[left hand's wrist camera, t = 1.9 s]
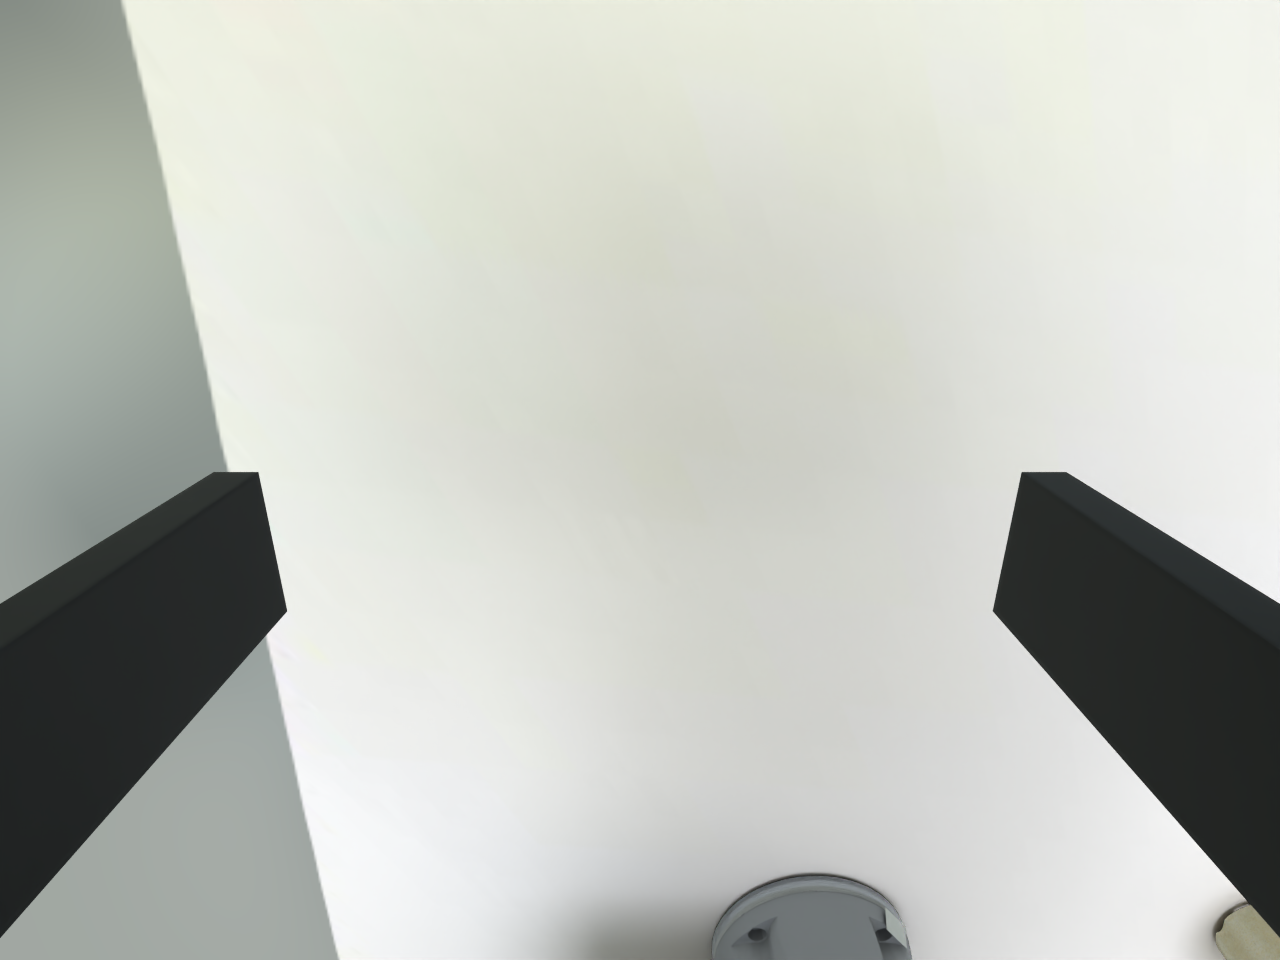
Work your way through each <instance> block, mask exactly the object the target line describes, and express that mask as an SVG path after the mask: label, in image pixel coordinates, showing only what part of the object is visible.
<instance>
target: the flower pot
mask: <svg viewBox="0 0 1280 960" xmlns="http://www.w3.org/2000/svg"><path fill="white" fill-rule="evenodd" d="M1216 944H1217V946H1218V948H1219V950H1220V952H1221V953H1222V954H1223V956H1224V957H1225V959H1226V960H1280V938H1279V936H1278V935H1277V934H1276V933H1275V932H1274V931H1273V930H1272V928H1271V927H1270V926H1269V925H1268V924H1267V923H1266V922H1265V921H1264V919H1263V918H1262V917H1261V916H1260V915H1259V914H1258V913H1257V911H1256V910H1255V909H1254V908H1253V907H1252V906H1251V905H1249V906H1246V907H1243V908H1241V909H1239V910H1237V911H1235V912H1233V913H1232V914H1230V915H1229V916H1228V917H1227V918H1226V919H1225V920H1224V925H1223V928H1222V930H1221V931H1220V932H1217V933H1216Z"/></svg>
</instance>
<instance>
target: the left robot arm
mask: <svg viewBox="0 0 1280 960" xmlns="http://www.w3.org/2000/svg"><path fill="white" fill-rule="evenodd" d="M286 612H287V608H286V603H285V598H284V594H283V589H282V584H281V579H280V574H279V570H278V565H277V560H276V555H275V550H274V545H273V541H272V536H271V531H270V526H269V521H268V517H267V512H266V507H265V502H264V497H263V493H262V488H261V483H260V478H259V473H258V472H213V473H212V474H210V475H208V476H207V477H205V478H204V479H202V480H200V481H199V482H197V483H195V484H194V485H192V486H191V487H189V488H187V489H186V490H184V491H183V492H181V493H179V494H178V495H176V496H174V497H173V498H171V499H169V500H168V501H166V502H165V503H163V504H161V505H160V506H158V507H157V508H155V509H153V510H152V511H150V512H148V513H147V514H145V515H144V516H142V517H140V518H139V519H137V520H135V521H134V522H132V523H131V524H129V525H127V526H126V527H124V528H122V529H121V530H119V531H118V532H116V533H114V534H113V535H111V536H109V537H108V538H106V539H105V540H103V541H101V542H100V543H98V544H97V545H95V546H93V547H92V548H90V549H88V550H87V551H85V552H84V553H82V554H80V555H79V556H77V557H76V558H74V559H72V560H71V561H69V562H67V563H66V564H64V565H62V566H61V567H59V568H58V569H56V570H54V571H53V572H51V573H50V574H48V575H46V576H45V577H43V578H41V579H40V580H38V581H37V582H35V583H33V584H32V585H30V586H28V587H27V588H25V589H24V590H22V591H20V592H19V593H17V594H16V595H14V596H12V597H11V598H9V599H7V600H6V601H4V602H3V603H1V604H0V938H1V936H2V935H3V934H4V933H5V932H6V931H7V930H8V928H9V927H10V926H11V925H12V924H13V923H14V922H15V921H16V919H17V918H18V917H19V916H20V915H21V914H22V912H23V911H24V910H25V909H26V908H27V907H28V906H29V905H30V903H31V902H32V901H33V900H34V899H35V898H36V897H37V895H38V894H39V893H40V892H41V891H42V890H43V889H44V887H45V886H46V885H47V884H48V883H49V882H50V881H51V880H52V878H53V877H54V876H55V875H56V874H57V873H58V872H59V870H60V869H61V868H62V867H63V866H64V865H65V864H66V862H67V861H68V860H69V859H70V858H71V857H72V856H73V854H74V853H75V852H76V851H77V850H78V849H79V848H80V846H81V845H82V844H83V843H84V842H85V841H86V840H87V838H88V837H89V836H90V835H91V834H92V833H93V832H94V831H95V829H96V828H97V827H98V826H99V825H100V824H101V823H102V821H103V820H104V819H105V818H106V817H107V816H108V815H109V813H110V812H111V811H112V810H113V809H114V808H115V807H116V805H117V804H118V803H119V802H120V801H121V800H122V799H123V798H124V796H125V795H126V794H127V793H128V792H129V791H130V790H131V788H132V787H133V786H134V785H135V784H136V783H137V782H138V780H139V779H140V778H141V777H142V776H143V775H144V774H145V772H146V771H147V770H148V769H149V768H150V767H151V766H152V764H153V763H154V762H155V761H156V760H157V759H158V758H159V757H160V755H161V754H162V753H163V752H164V751H165V750H166V748H167V747H168V746H169V745H170V744H171V743H172V742H173V741H174V739H175V738H176V737H177V736H178V735H179V734H180V733H181V731H182V730H183V729H184V728H185V727H186V726H187V725H188V723H189V722H190V721H191V720H192V719H193V718H194V717H195V716H196V714H197V713H198V712H199V711H200V710H201V709H202V708H203V706H204V705H205V704H206V703H207V702H208V701H209V700H210V698H211V697H212V696H213V695H214V694H215V693H216V692H217V690H218V689H219V688H220V687H221V686H222V685H223V684H224V682H225V681H226V680H227V679H228V678H229V677H230V676H231V675H232V673H233V672H234V671H235V670H236V669H237V668H238V667H239V665H240V664H241V663H242V662H243V661H244V660H245V659H246V657H247V656H248V655H249V654H250V653H251V652H252V651H253V649H254V648H255V647H256V646H257V645H258V644H259V643H260V642H261V640H262V639H263V638H264V637H265V636H266V635H267V634H268V632H269V631H270V630H271V629H272V628H273V627H274V626H275V624H276V623H277V622H278V621H279V620H280V619H281V618H282V616H283V615H284V614H285V613H286ZM993 612H994V613H995V614H996V615H997V616H998V618H999V619H1000V620H1001V621H1002V622H1003V623H1004V624H1005V626H1006V627H1007V628H1008V629H1009V630H1010V631H1011V632H1012V634H1013V635H1014V636H1015V637H1016V638H1017V639H1018V640H1019V642H1020V643H1021V644H1022V645H1023V646H1024V647H1025V648H1026V649H1027V651H1028V652H1029V653H1030V654H1031V655H1032V656H1033V657H1034V659H1035V660H1036V661H1037V662H1038V663H1039V664H1040V665H1041V667H1042V668H1043V669H1044V670H1045V671H1046V672H1047V673H1048V675H1049V676H1050V677H1051V678H1052V679H1053V680H1054V681H1055V683H1056V684H1057V685H1058V686H1059V687H1060V688H1061V689H1062V690H1063V692H1064V693H1065V694H1066V695H1067V696H1068V697H1069V698H1070V700H1071V701H1072V702H1073V703H1074V704H1075V705H1076V706H1077V708H1078V709H1079V710H1080V711H1081V712H1082V713H1083V714H1084V716H1085V717H1086V718H1087V719H1088V720H1089V721H1090V722H1091V724H1092V725H1093V726H1094V727H1095V728H1096V729H1097V730H1098V731H1099V733H1100V734H1101V735H1102V736H1103V737H1104V738H1105V739H1106V741H1107V742H1108V743H1109V744H1110V745H1111V746H1112V747H1113V749H1114V750H1115V751H1116V752H1117V753H1118V754H1119V755H1120V757H1121V758H1122V759H1123V760H1124V761H1125V762H1126V763H1127V765H1128V766H1129V767H1130V768H1131V769H1132V770H1133V771H1134V772H1135V774H1136V775H1137V776H1138V777H1139V778H1140V779H1141V780H1142V782H1143V783H1144V784H1145V785H1146V786H1147V787H1148V788H1149V790H1150V791H1151V792H1152V793H1153V794H1154V795H1155V796H1156V798H1157V799H1158V800H1159V801H1160V802H1161V803H1162V804H1163V806H1164V807H1165V808H1166V809H1167V810H1168V811H1169V812H1170V813H1171V815H1172V816H1173V817H1174V818H1175V819H1176V820H1177V821H1178V823H1179V824H1180V825H1181V826H1182V827H1183V828H1184V829H1185V831H1186V832H1187V833H1188V834H1189V835H1190V836H1191V837H1192V839H1193V840H1194V841H1195V842H1196V843H1197V844H1198V845H1199V846H1200V848H1201V849H1202V850H1203V851H1204V852H1205V853H1206V854H1207V856H1208V857H1209V858H1210V859H1211V860H1212V861H1213V862H1214V864H1215V865H1216V866H1217V867H1218V868H1219V869H1220V870H1221V872H1222V873H1223V874H1224V875H1225V876H1226V877H1227V878H1228V880H1229V881H1230V882H1231V883H1232V884H1233V885H1234V886H1235V887H1236V889H1237V890H1238V891H1239V892H1240V893H1241V894H1242V895H1243V897H1244V898H1245V899H1246V900H1247V901H1248V902H1249V903H1250V905H1251V906H1252V907H1253V908H1254V909H1255V910H1256V911H1257V913H1258V914H1259V915H1260V916H1261V917H1262V918H1263V919H1264V921H1265V922H1266V923H1267V924H1268V925H1269V926H1270V927H1271V928H1272V930H1273V931H1274V932H1275V933H1276V934H1277V935H1278V936H1279V938H1280V604H1279V603H1278V602H1276V601H1274V600H1273V599H1271V598H1269V597H1268V596H1266V595H1265V594H1263V593H1261V592H1260V591H1258V590H1256V589H1255V588H1253V587H1252V586H1250V585H1248V584H1247V583H1245V582H1243V581H1242V580H1240V579H1239V578H1237V577H1235V576H1234V575H1232V574H1231V573H1229V572H1227V571H1226V570H1224V569H1222V568H1221V567H1219V566H1218V565H1216V564H1214V563H1213V562H1211V561H1209V560H1208V559H1206V558H1205V557H1203V556H1201V555H1200V554H1198V553H1196V552H1195V551H1193V550H1192V549H1190V548H1188V547H1187V546H1185V545H1183V544H1182V543H1180V542H1179V541H1177V540H1175V539H1174V538H1172V537H1171V536H1169V535H1167V534H1166V533H1164V532H1162V531H1161V530H1159V529H1158V528H1156V527H1154V526H1153V525H1151V524H1149V523H1148V522H1146V521H1145V520H1143V519H1141V518H1140V517H1138V516H1136V515H1135V514H1133V513H1132V512H1130V511H1128V510H1127V509H1125V508H1123V507H1122V506H1120V505H1119V504H1117V503H1115V502H1114V501H1112V500H1111V499H1109V498H1107V497H1106V496H1104V495H1102V494H1101V493H1099V492H1098V491H1096V490H1094V489H1093V488H1091V487H1089V486H1088V485H1086V484H1085V483H1083V482H1081V481H1080V480H1078V479H1076V478H1075V477H1073V476H1072V475H1070V474H1068V473H1067V472H1022V473H1021V478H1020V483H1019V488H1018V493H1017V497H1016V502H1015V507H1014V512H1013V517H1012V521H1011V526H1010V531H1009V536H1008V541H1007V545H1006V550H1005V555H1004V560H1003V565H1002V570H1001V574H1000V579H999V584H998V589H997V594H996V598H995V603H994V608H993ZM712 959H713V960H912V956H911V951H910V946H909V941H908V938H907V935H906V930H905V926H904V925H903V924H902V921H901V919H900V917H899V915H898V913H897V911H896V910H895V908H894V907H893V906H892V905H891V904H890V902H889V901H887V900H886V899H885V898H884V897H883V896H882V895H880V894H879V893H878V892H876V891H874V890H872V889H871V888H869V887H867V886H865V885H862V884H860V883H857V882H854V881H851V880H847V879H842V878H837V877H829V876H804V877H795V878H789V879H785V880H781V881H777V882H774V883H771V884H768V885H766V886H763V887H761V888H759V889H757V890H755V891H753V892H751V893H749V894H748V895H746V896H744V897H743V898H742V899H740V900H739V901H738V902H736V903H735V904H734V905H733V906H732V907H731V908H730V909H729V910H728V911H727V912H726V913H725V915H724V916H723V917H722V919H721V920H720V922H719V924H718V925H717V927H716V930H715V932H714V936H713V940H712Z"/></svg>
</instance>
